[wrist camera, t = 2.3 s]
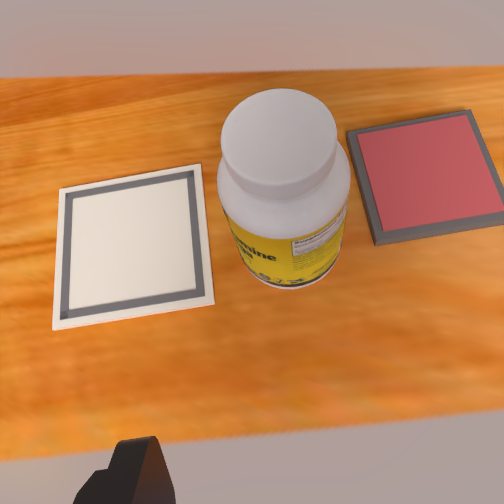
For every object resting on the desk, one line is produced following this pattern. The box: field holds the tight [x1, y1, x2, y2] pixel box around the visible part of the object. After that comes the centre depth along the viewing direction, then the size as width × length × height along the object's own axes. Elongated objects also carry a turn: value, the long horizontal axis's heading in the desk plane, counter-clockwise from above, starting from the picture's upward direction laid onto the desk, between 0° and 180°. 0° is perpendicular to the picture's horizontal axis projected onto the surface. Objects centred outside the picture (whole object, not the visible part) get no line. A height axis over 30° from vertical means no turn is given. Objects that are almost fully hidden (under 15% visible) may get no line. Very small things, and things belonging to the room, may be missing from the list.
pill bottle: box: [217, 88, 351, 289], centre depth 23 cm, size 6×6×11 cm
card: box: [52, 164, 215, 331], centre depth 29 cm, size 10×10×1 cm
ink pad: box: [347, 109, 504, 246], centre depth 28 cm, size 8×8×1 cm
